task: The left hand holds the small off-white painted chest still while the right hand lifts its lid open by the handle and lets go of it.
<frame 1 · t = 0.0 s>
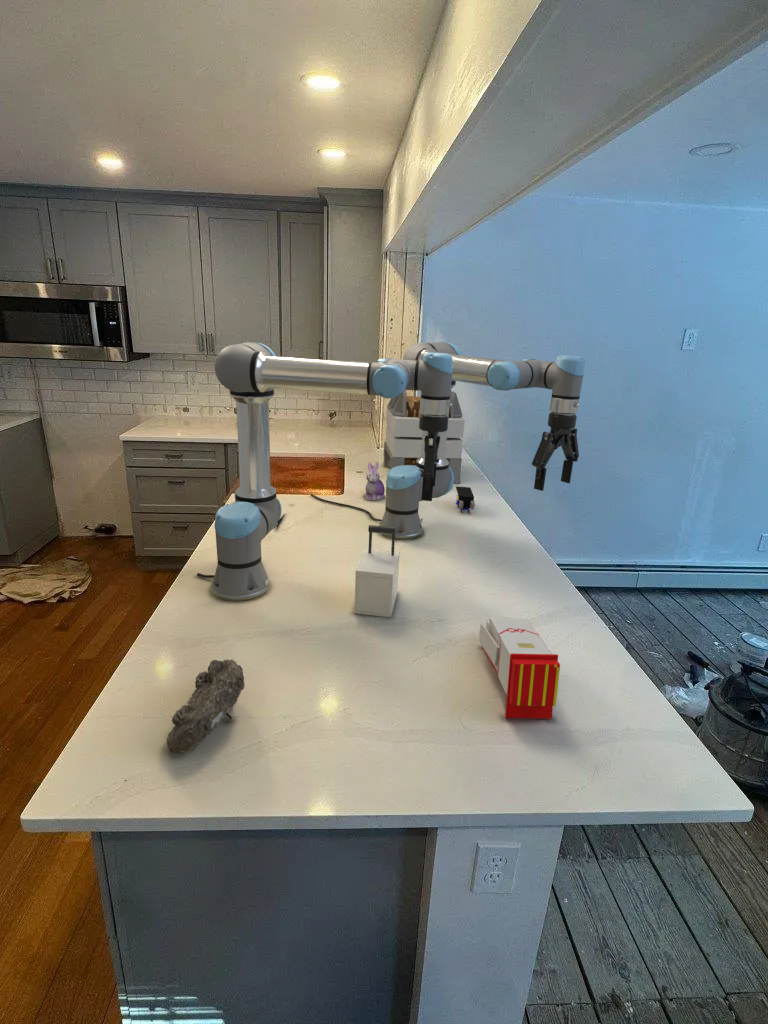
left hand: (428, 492, 154), 28 cm above the counter, tool pointing down, fingers open, 13 cm apart
right hand: (552, 485, 166), 28 cm above the counter, tool pointing down, fingers open, 13 cm apart
toy: (511, 677, 124), on the counter
figurine character: (463, 509, 228), on the counter
chest: (376, 603, 153), on the counter
fossil: (212, 717, 108), on the counter
lid: (379, 549, 148), point 16 cm above the counter, hinge at 0.0°
feather: (283, 517, 211), on the counter
figurine: (374, 497, 237), on the counter
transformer: (419, 473, 275), on the counter
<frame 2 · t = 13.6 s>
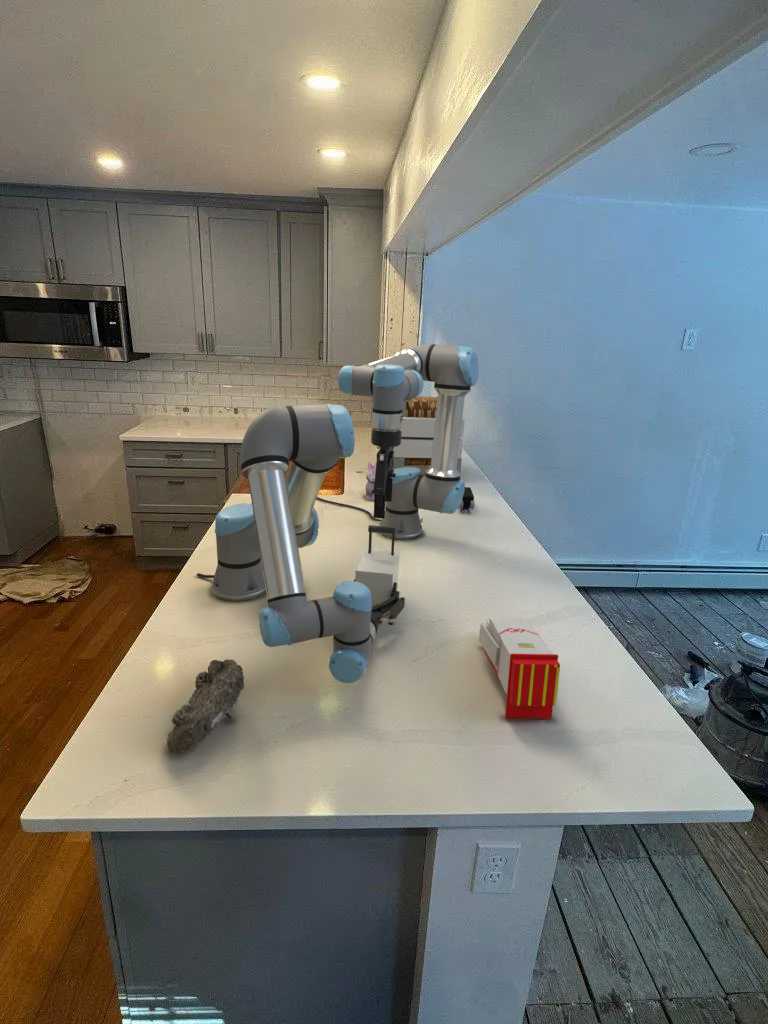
left hand: (375, 585, 148), 7 cm above the counter, tool horizontal, fingers closed on chest, 9 cm apart
right hand: (383, 509, 149), 25 cm above the counter, tool pointing down, fingers open, 13 cm apart
chest: (376, 602, 153), on the counter, touching left hand
everything else where it was.
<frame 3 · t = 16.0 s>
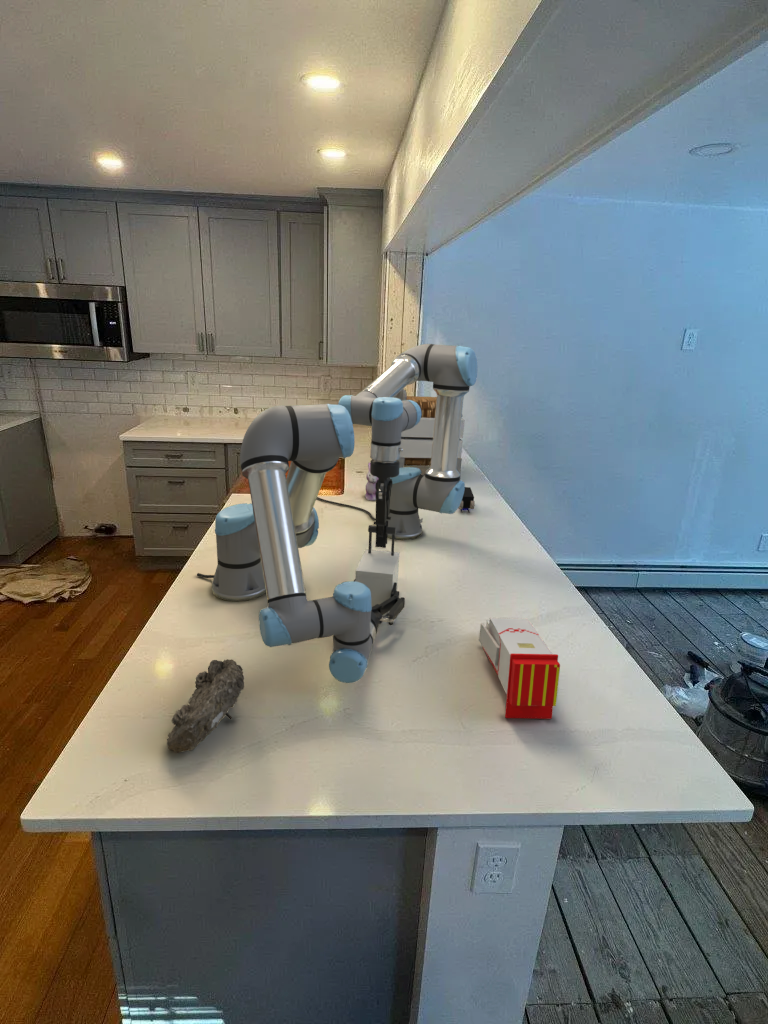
left hand: (375, 585, 148), 7 cm above the counter, tool horizontal, fingers closed on chest, 9 cm apart
right hand: (381, 544, 152), 15 cm above the counter, tool pointing down, fingers closed on lid, 2 cm apart
chest: (376, 603, 152), on the counter, touching left hand
lid: (378, 549, 148), point 16 cm above the counter, hinge at 0.0°, touching right hand
everything else where it was.
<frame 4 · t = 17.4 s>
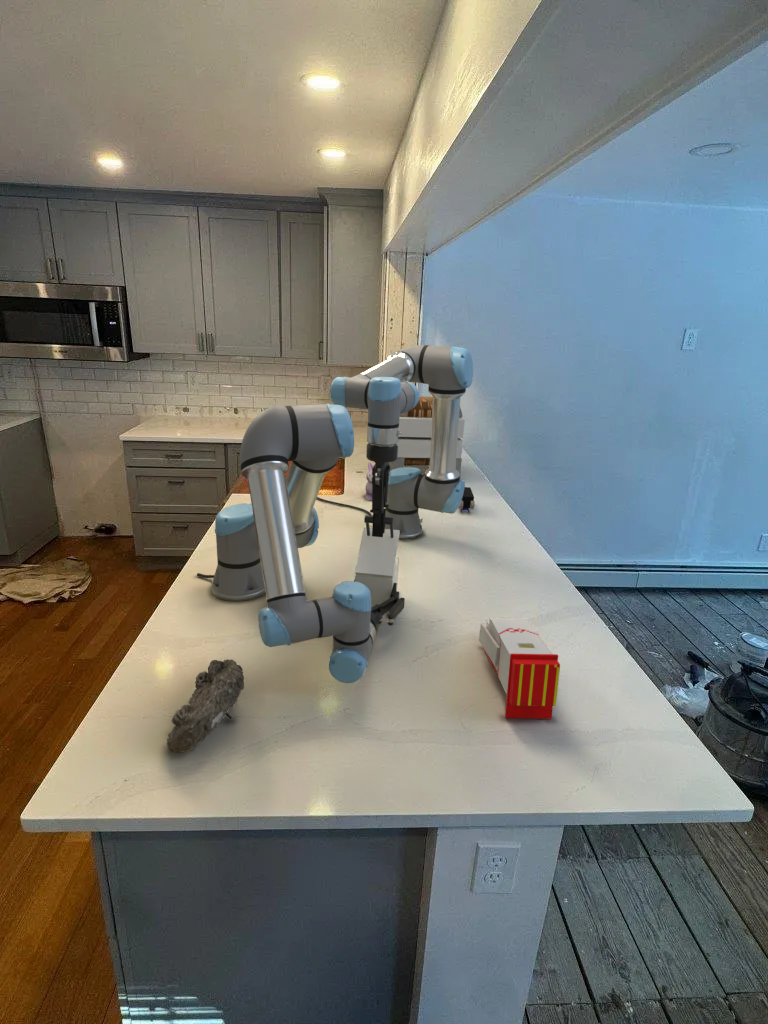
left hand: (375, 585, 147), 7 cm above the counter, tool horizontal, fingers closed on chest, 10 cm apart
right hand: (378, 534, 144), 21 cm above the counter, tool pointing down, fingers closed on lid, 2 cm apart
chest: (376, 602, 152), on the counter, touching left hand
lid: (377, 543, 143), point 19 cm above the counter, hinge at 33.2°, touching right hand
everything else where it was.
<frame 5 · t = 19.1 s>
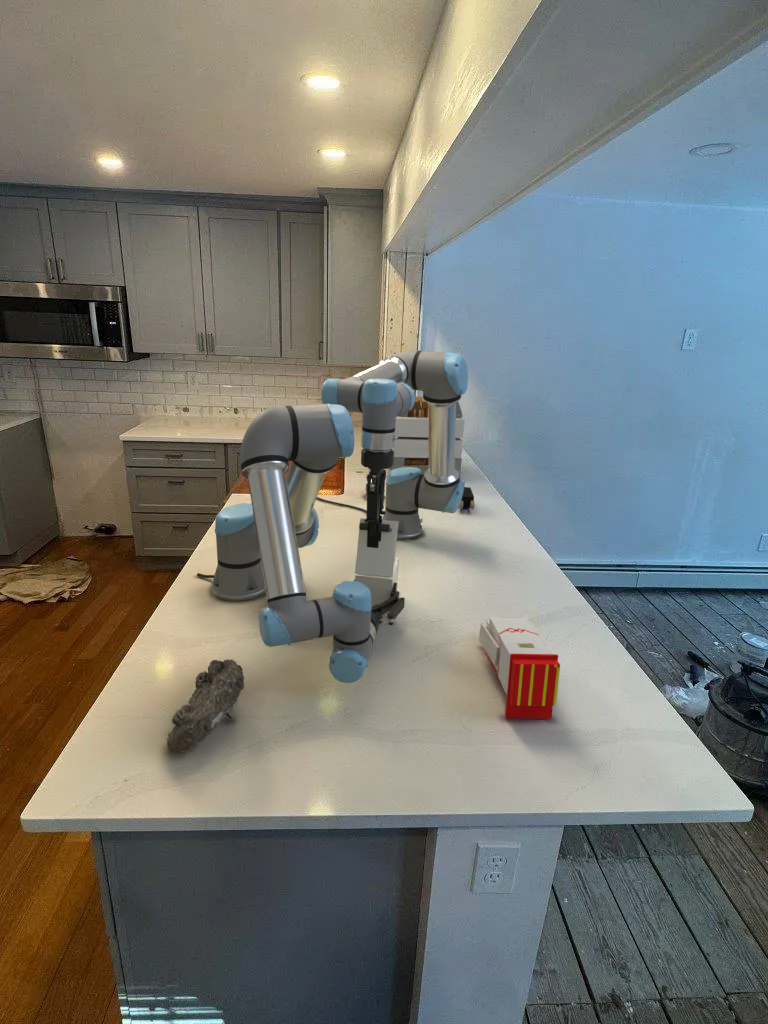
left hand: (375, 585, 147), 7 cm above the counter, tool horizontal, fingers closed on chest, 9 cm apart
right hand: (374, 543, 137), 21 cm above the counter, tool pointing down, fingers open, 3 cm apart
chest: (376, 602, 152), on the counter, touching left hand
lid: (374, 546, 139), point 20 cm above the counter, hinge at 64.2°
everything else where it was.
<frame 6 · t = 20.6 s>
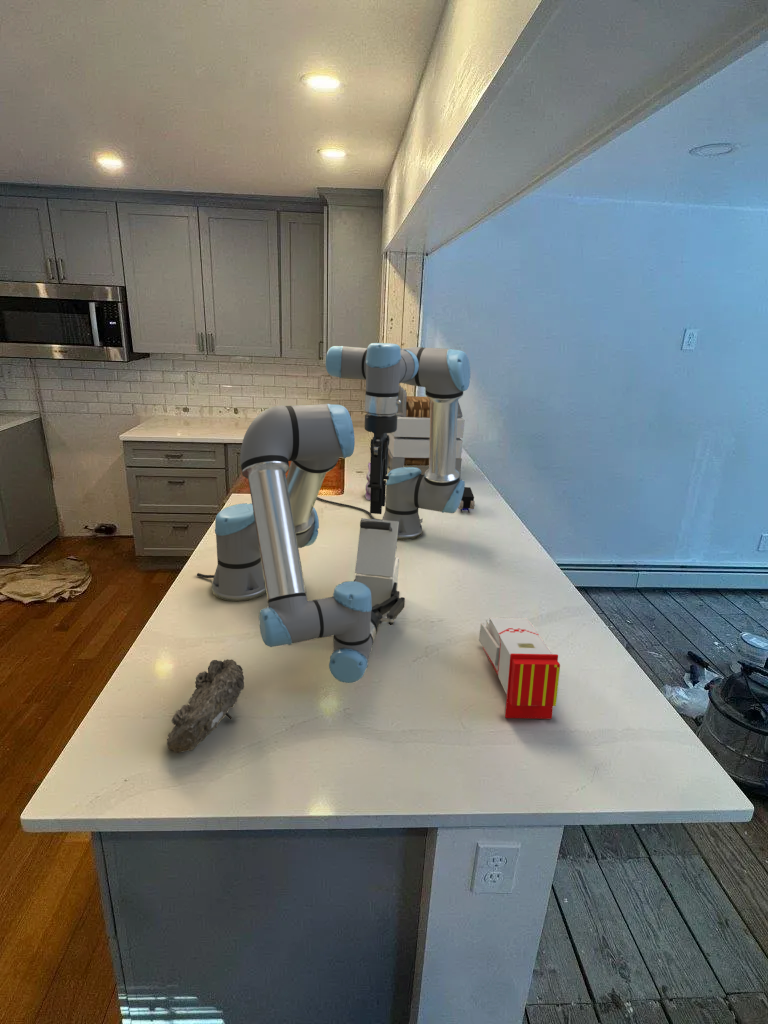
left hand: (375, 585, 148), 7 cm above the counter, tool horizontal, fingers closed on chest, 9 cm apart
right hand: (377, 509, 138), 29 cm above the counter, tool pointing down, fingers open, 5 cm apart
chest: (376, 602, 153), on the counter, touching left hand
lid: (375, 545, 139), point 20 cm above the counter, hinge at 60.8°
everything else where it was.
when the left hand's fingers open (7 cm above the counter, at t = 23.1 s): chest stays where it is, on the counter.
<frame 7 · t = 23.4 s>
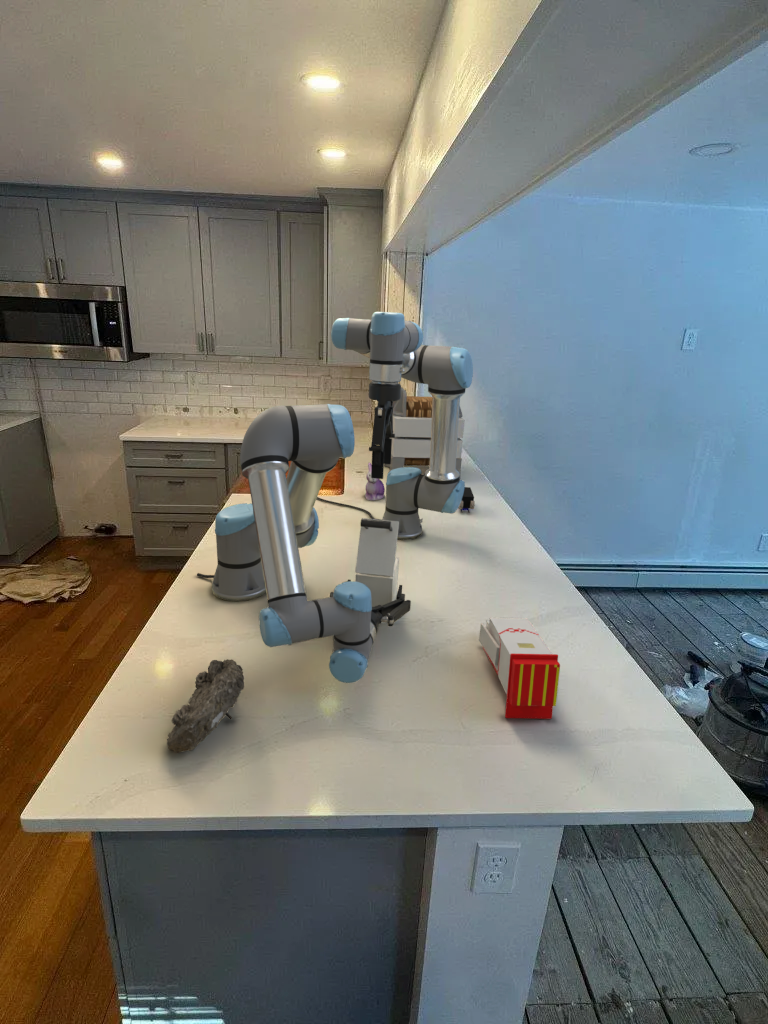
left hand: (374, 586, 147), 7 cm above the counter, tool horizontal, fingers open, 13 cm apart
right hand: (381, 470, 139), 37 cm above the counter, tool pointing down, fingers open, 13 cm apart
chest: (376, 602, 153), on the counter
lid: (375, 544, 140), point 20 cm above the counter, hinge at 59.5°
everything else where it was.
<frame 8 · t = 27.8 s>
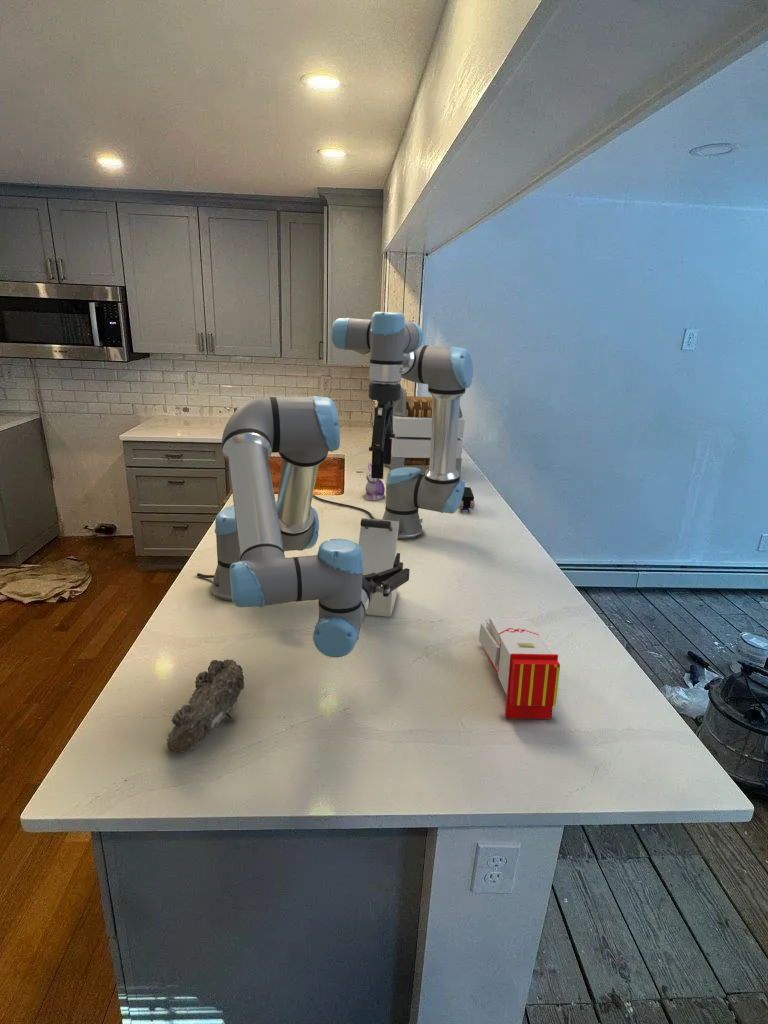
left hand: (368, 555, 130), 21 cm above the counter, tool horizontal, fingers open, 13 cm apart
right hand: (381, 470, 139), 37 cm above the counter, tool pointing down, fingers open, 13 cm apart
nothing on the counter moved.
at the end: lid at +59° (first picture: +0°); the left hand is holding nothing; the right hand is holding nothing; chest tilted 0°; chest never tilted more than 1° during the clip; chest moved 0.2 cm from its start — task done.
